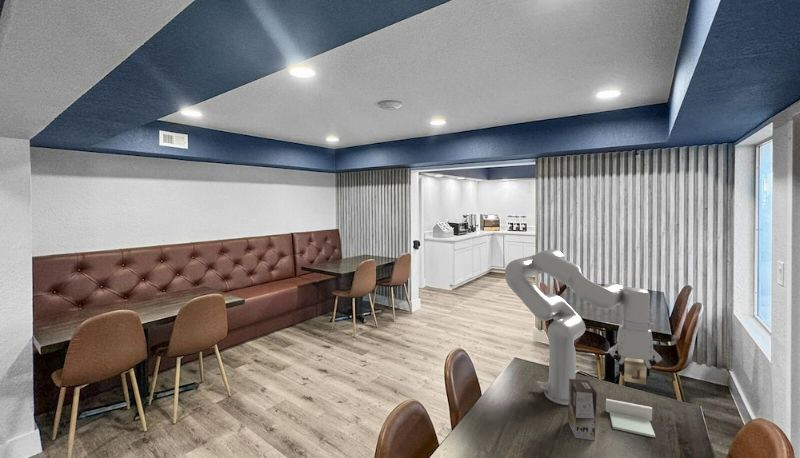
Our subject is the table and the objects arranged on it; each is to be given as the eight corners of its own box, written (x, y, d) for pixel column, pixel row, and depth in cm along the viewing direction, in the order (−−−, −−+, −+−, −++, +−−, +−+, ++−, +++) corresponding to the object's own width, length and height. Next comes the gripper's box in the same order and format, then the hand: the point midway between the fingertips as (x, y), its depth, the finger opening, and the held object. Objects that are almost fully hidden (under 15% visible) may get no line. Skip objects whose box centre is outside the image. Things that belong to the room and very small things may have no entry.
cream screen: (606, 411, 130) (606, 400, 129) (605, 410, 131) (606, 398, 131) (651, 421, 124) (652, 408, 124) (650, 419, 125) (651, 407, 125)
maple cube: (642, 376, 122) (642, 359, 122) (646, 384, 116) (646, 367, 116) (621, 373, 125) (622, 356, 124) (624, 381, 119) (625, 364, 119)
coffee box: (596, 440, 115) (597, 393, 113) (574, 438, 116) (576, 391, 114) (587, 423, 123) (588, 379, 122) (567, 421, 125) (568, 377, 123)
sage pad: (612, 428, 120) (613, 426, 120) (609, 413, 129) (609, 411, 129) (655, 437, 116) (655, 435, 115) (648, 421, 124) (649, 419, 124)
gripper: (663, 324, 119) (661, 375, 120) (604, 318, 126) (603, 366, 127) (669, 331, 112) (667, 386, 114) (607, 325, 119) (606, 376, 121)
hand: (633, 375), depth 120 cm, fingers closed on maple cube, 6 cm apart
